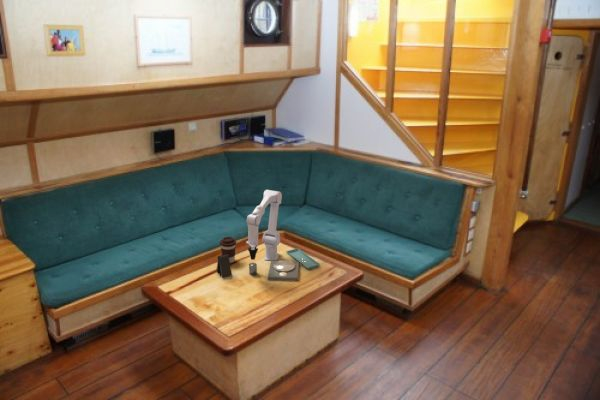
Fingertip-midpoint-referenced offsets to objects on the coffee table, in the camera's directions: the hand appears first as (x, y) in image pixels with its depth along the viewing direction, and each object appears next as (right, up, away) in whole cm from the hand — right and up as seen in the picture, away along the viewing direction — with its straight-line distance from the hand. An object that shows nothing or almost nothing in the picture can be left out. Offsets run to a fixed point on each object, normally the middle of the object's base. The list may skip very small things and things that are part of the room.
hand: (253, 256), depth 283 cm
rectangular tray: (+29, -5, +22) cm, 37 cm away
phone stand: (-18, -11, +5) cm, 21 cm away
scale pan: (+18, -7, +9) cm, 21 cm away
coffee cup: (-17, -5, +20) cm, 26 cm away
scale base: (+18, -10, +7) cm, 22 cm away
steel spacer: (0, -11, +5) cm, 12 cm away
